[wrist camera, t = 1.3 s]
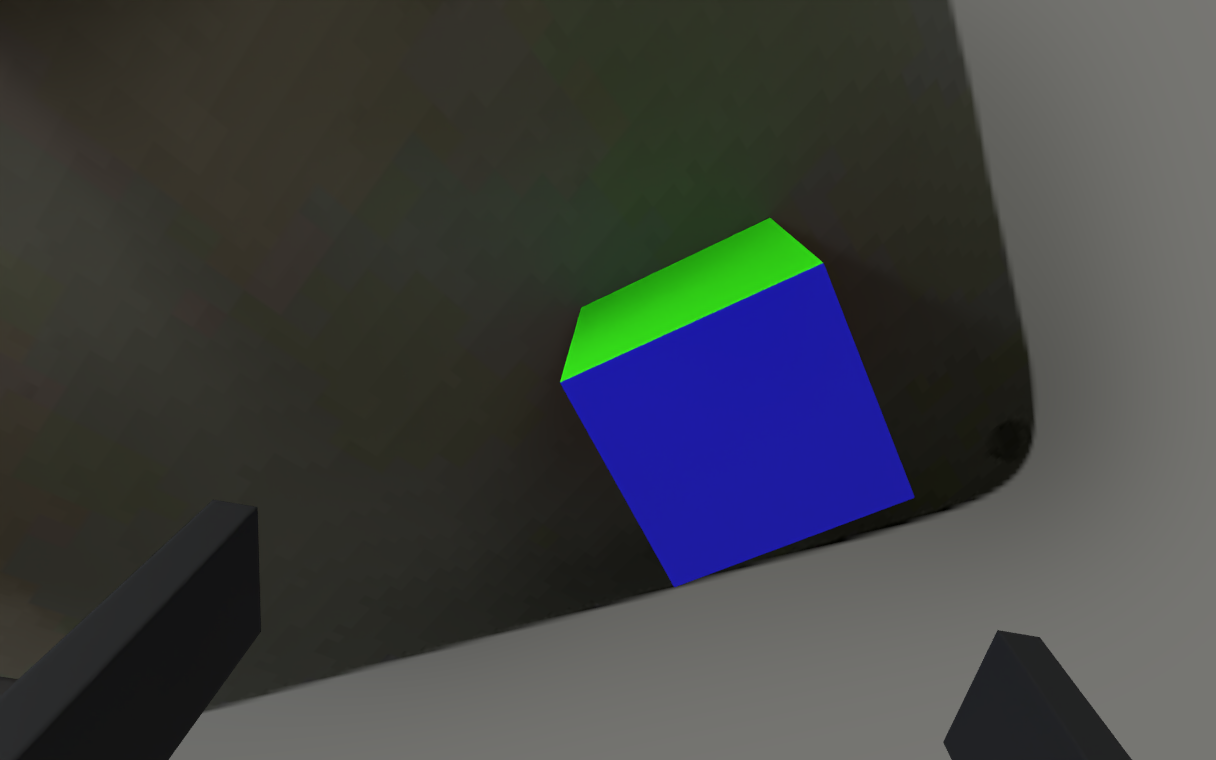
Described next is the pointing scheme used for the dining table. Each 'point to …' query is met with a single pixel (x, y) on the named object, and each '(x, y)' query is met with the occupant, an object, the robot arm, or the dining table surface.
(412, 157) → the dining table surface
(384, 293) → the dining table surface
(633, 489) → the cube
